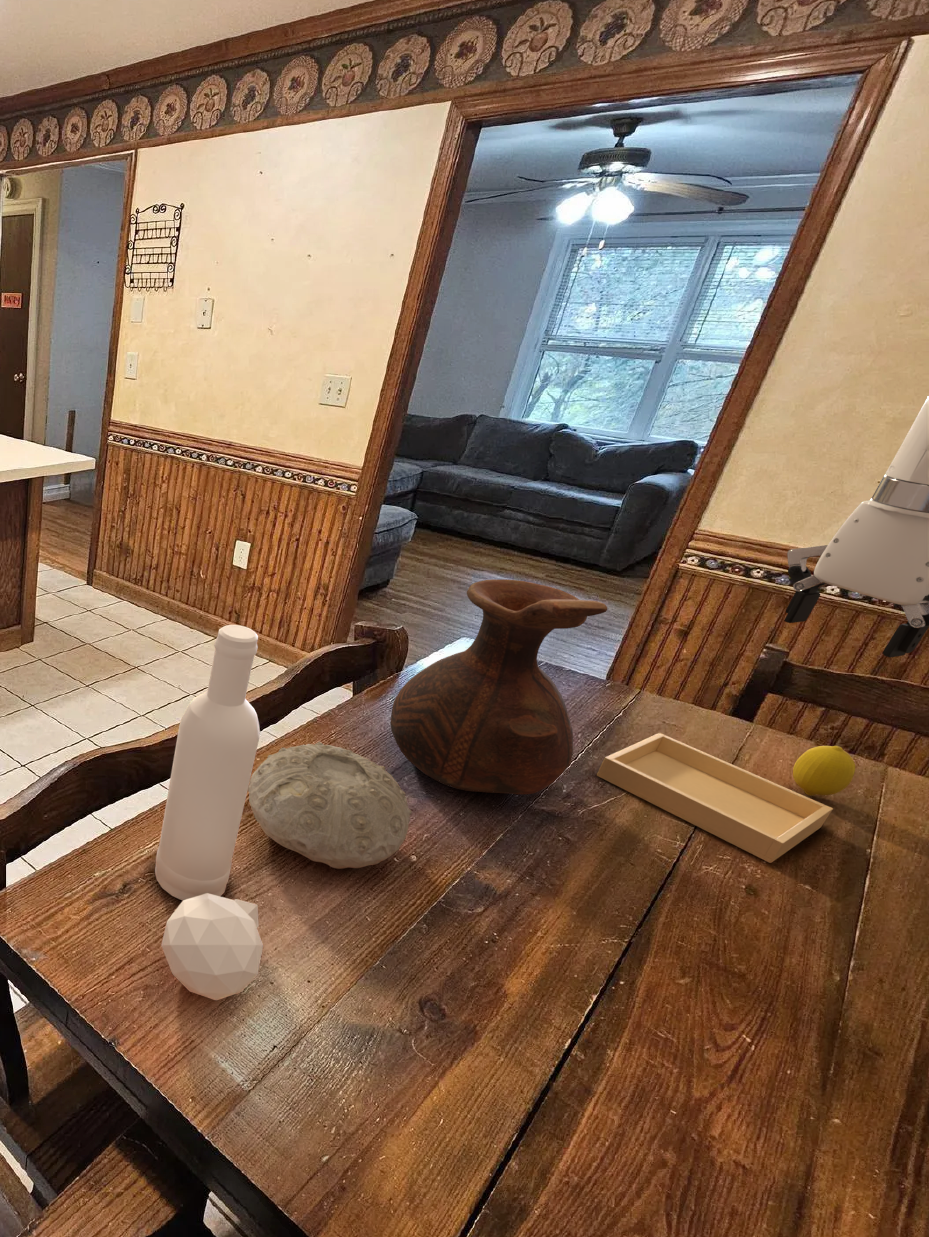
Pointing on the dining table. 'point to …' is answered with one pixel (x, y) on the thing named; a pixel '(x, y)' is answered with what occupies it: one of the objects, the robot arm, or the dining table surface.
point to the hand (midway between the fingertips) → (841, 637)
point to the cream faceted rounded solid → (213, 945)
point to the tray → (715, 795)
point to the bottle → (210, 774)
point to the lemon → (824, 770)
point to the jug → (494, 697)
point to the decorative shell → (329, 805)
